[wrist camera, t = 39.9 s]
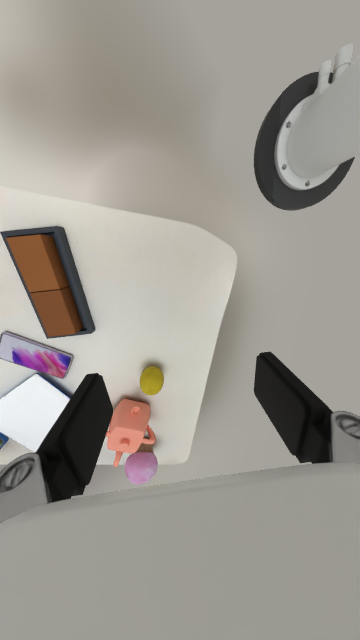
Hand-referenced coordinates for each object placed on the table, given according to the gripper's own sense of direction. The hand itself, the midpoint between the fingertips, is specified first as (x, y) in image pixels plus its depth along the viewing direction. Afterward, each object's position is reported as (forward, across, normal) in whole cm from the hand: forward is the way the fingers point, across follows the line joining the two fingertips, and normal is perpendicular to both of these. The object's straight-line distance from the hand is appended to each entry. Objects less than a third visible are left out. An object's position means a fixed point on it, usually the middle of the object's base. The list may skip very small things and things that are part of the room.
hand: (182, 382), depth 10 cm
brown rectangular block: (+28, +23, -8) cm, 37 cm away
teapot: (+28, +15, +33) cm, 46 cm away
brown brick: (+28, +23, +2) cm, 36 cm away
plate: (+28, +38, +31) cm, 57 cm away
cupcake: (+28, +14, +47) cm, 57 cm away
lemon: (+28, +7, +20) cm, 36 cm away
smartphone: (+28, +33, +12) cm, 45 cm away
